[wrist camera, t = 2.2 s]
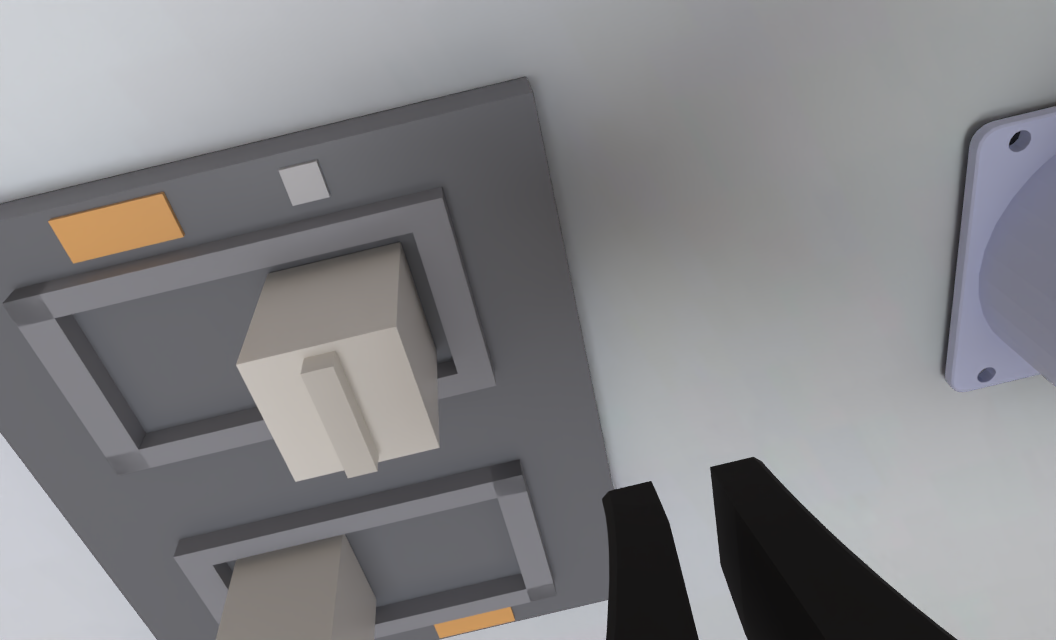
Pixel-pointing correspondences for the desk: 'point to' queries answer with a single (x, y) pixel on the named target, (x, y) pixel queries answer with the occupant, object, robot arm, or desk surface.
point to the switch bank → (230, 411)
